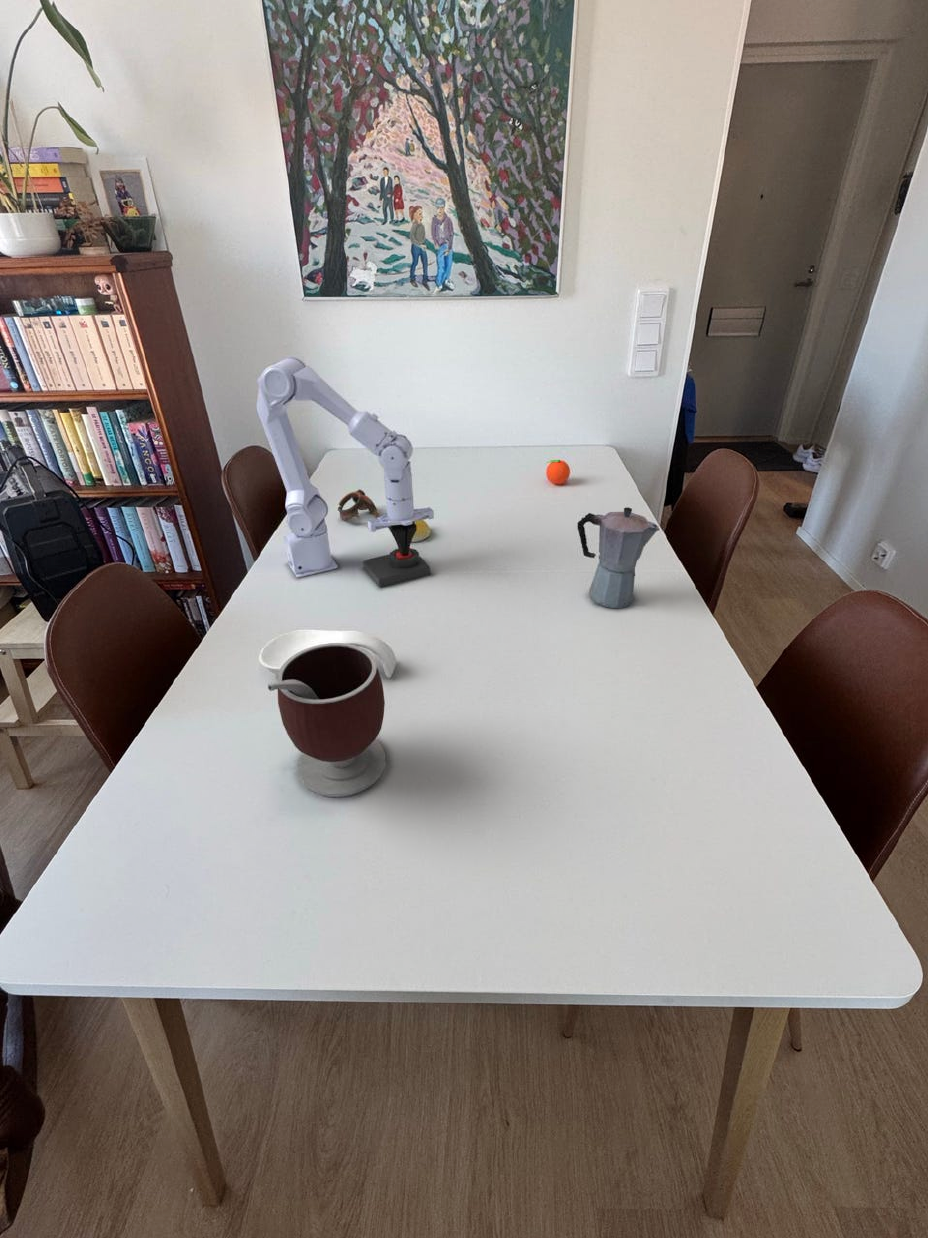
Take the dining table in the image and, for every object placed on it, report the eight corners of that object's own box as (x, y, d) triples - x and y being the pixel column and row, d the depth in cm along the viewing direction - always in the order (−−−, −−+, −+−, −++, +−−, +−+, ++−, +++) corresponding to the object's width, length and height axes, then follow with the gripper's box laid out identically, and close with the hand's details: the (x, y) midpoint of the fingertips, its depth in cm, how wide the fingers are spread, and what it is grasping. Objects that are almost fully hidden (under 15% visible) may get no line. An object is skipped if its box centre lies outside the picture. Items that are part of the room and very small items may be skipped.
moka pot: (648, 613, 124) (664, 520, 113) (569, 606, 127) (577, 514, 116) (646, 589, 132) (661, 500, 121) (572, 583, 135) (580, 495, 124)
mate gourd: (347, 719, 99) (330, 612, 89) (410, 758, 92) (401, 647, 81) (265, 776, 89) (235, 664, 79) (329, 826, 82) (305, 709, 71)
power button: (400, 566, 138) (399, 558, 137) (393, 559, 141) (393, 552, 140) (415, 562, 139) (414, 555, 138) (408, 555, 142) (408, 548, 141)
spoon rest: (252, 684, 107) (243, 650, 103) (277, 645, 117) (270, 612, 113) (387, 692, 105) (383, 657, 101) (401, 651, 115) (398, 618, 111)
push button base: (379, 588, 134) (378, 572, 132) (363, 569, 142) (362, 553, 140) (430, 575, 139) (429, 559, 137) (412, 557, 146) (411, 541, 144)
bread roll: (401, 545, 152) (399, 530, 150) (395, 530, 159) (393, 515, 157) (434, 540, 154) (433, 525, 151) (426, 526, 161) (425, 511, 159)
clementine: (539, 486, 183) (541, 462, 179) (544, 478, 189) (545, 454, 185) (567, 488, 181) (569, 464, 177) (570, 480, 187) (572, 456, 183)
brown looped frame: (382, 526, 163) (364, 503, 157) (351, 540, 165) (332, 519, 159) (381, 497, 171) (364, 476, 165) (351, 512, 173) (334, 491, 167)
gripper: (373, 509, 126) (379, 569, 133) (438, 495, 131) (441, 553, 139) (361, 497, 131) (368, 555, 138) (424, 485, 137) (427, 541, 144)
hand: (404, 554), depth 139 cm, fingers closed, pressing on power button
